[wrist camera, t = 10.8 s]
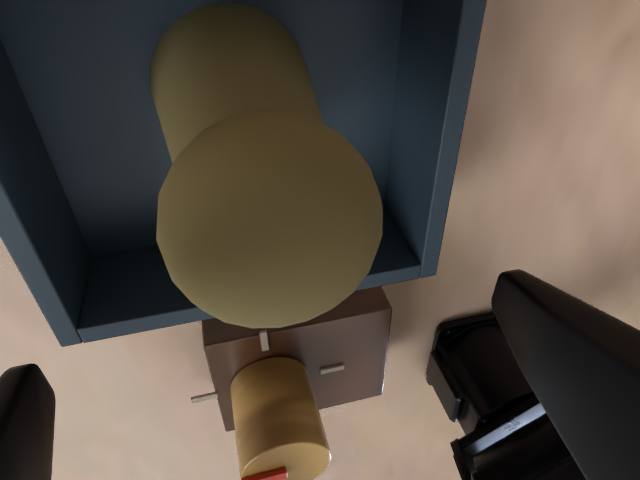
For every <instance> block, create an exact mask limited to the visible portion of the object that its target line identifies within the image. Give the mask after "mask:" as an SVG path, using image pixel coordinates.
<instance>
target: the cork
mask: <svg viewBox="0 0 640 480" xmlns="http://www.w3.org/2000/svg"><path fill="white" fill-rule="evenodd" d="M150 90H151V93H152V97H153V100H154V103H155V107H156V110H157V113H158V117H159V120H160V123H161V127H162V130H163V133H164V137H165V140H166V143H167V147H168V150H169V154H170V157H171V160H172V166H171V168H170V170H169V172H168V174H167V177H166V179H165V181H164V183H163V185H162V188H161V190H160V192H159V195H158V211H157V234H156V241H157V243H158V246H159V249H160V251H161V254H162V257H163V259H164V262H165V264H166V267H167V270H168V272H169V275H170V277H171V280H172V282H173V283H174V284H175V285H176V286H177V287H178V288H179V289H180V290H181V291H182V292H183V294H184V295H185V296H186V297H187V298H188V299H189V300H190V301H191V302H192V303H193V304H195V305H196V306H197V307H198V308H200V309H201V310H202V311H204V312H206V313H208V314H210V315H212V316H214V317H216V318H217V319H219V320H221V321H223V322H225V323H229V324H234V325H238V326H243V327H248V328H281V327H285V326H289V325H293V324H297V323H301V322H305V321H308V320H311V319H313V318H315V317H317V316H319V315H321V314H323V313H325V312H327V311H329V310H331V309H333V308H334V307H336V306H337V305H338V304H339V303H341V302H342V301H343V300H344V299H346V298H347V297H348V296H349V295H351V294H352V293H353V292H354V291H355V290H356V288H357V287H358V286H359V285H360V283H361V282H362V281H363V279H364V278H365V277H366V275H367V274H368V273H369V271H370V269H371V266H372V263H373V261H374V258H375V255H376V253H377V250H378V247H379V244H380V241H381V238H382V228H383V207H382V202H381V197H380V193H379V190H378V187H377V185H376V182H375V180H374V177H373V175H372V172H371V170H370V167H369V165H368V164H367V163H366V161H365V160H364V159H363V157H362V156H361V155H360V154H359V152H358V151H357V150H356V149H355V148H354V147H353V146H352V145H351V144H350V143H349V142H348V141H347V140H346V139H345V138H344V137H343V135H342V134H341V133H340V132H338V131H336V130H334V129H332V128H330V127H328V126H326V125H324V123H323V120H322V116H321V113H320V109H319V106H318V102H317V99H316V96H315V92H314V89H313V85H312V82H311V79H310V75H309V72H308V68H307V65H306V62H305V60H304V57H303V55H302V53H301V50H300V48H299V46H298V43H297V41H296V40H295V38H294V37H293V36H292V35H291V34H290V33H289V32H288V30H287V29H286V28H285V27H284V26H283V25H282V24H281V22H280V21H278V20H277V19H275V18H273V17H272V16H270V15H268V14H267V13H265V12H263V11H262V10H260V9H258V8H256V7H252V6H247V5H242V4H238V3H233V2H224V3H217V4H210V5H202V6H200V7H199V8H197V9H195V10H193V11H191V12H189V13H187V14H185V15H183V16H182V17H180V18H178V19H177V20H176V21H175V22H174V24H173V25H172V26H171V27H170V28H169V29H168V30H167V31H166V33H165V34H164V35H163V36H162V37H161V38H160V40H159V43H158V46H157V48H156V51H155V53H154V56H153V58H152V61H151V73H150Z"/></svg>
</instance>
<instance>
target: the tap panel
mask: <svg viewBox="0 0 640 480" xmlns="http://www.w3.org/2000/svg"><path fill="white" fill-rule="evenodd" d="M391 315H392V307H391V305H390V303H389V301H388V299H387V297H386V295H385V293H384V291H383V289H382V287H381V286H377V287H371V288H366V289H361V290H356V291H354V292H353V293H352V294H351V295H349V296H348V297H347V298H346V299H344V300H343V301H342V302H341V303H339V304H338V305H337V306H336V307H334V308H333V309H331V310H329V311H327V312H325V313H323V314H321V315H319V316H317V317H315V318H313V319H311V320H308V321H305V322H301V323H297V324H293V325H289V326H285V327H281V328H248V327H243V326H238V325H234V324H229V323H225V322H223V321H221V320H219V319H217V318H211V319H205V320H202V333H203V346H204V350H205V354H206V358H207V362H208V365H209V369H210V373H211V377H212V381H213V384H214V388H215V392H213V393H208V394H204V395H199V396H195V397H191V401H192V403H196V402H200V401H205V400H209V399H214V398H217V400H218V403H219V407H220V411H221V415H222V419H223V422H224V426H225V430H226V431H231V430H235V426H234V417H233V409H232V400H231V392H230V387H231V383H232V381H233V379H234V377H235V376H236V375H237V374H238V373H239V372H240V371H241V370H242V369H243V368H245V367H246V366H248V365H250V364H252V363H254V362H256V361H259V360H262V359H266V358H272V357H287V358H292V359H295V360H297V361H299V362H300V363H302V364H303V365H304V366H305V367H306V369H307V371H308V374H309V377H310V381H311V385H312V388H313V392H314V395H315V399H316V402H317V406H318V410H319V409H324V408H328V407H332V406H336V405H340V404H345V403H349V402H353V401H357V400H361V399H366V398H370V397H374V396H378V395H382V393H383V385H384V376H385V367H386V358H387V350H388V341H389V332H390V323H391Z"/></svg>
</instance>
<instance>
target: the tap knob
mask: <svg viewBox="0 0 640 480" xmlns="http://www.w3.org/2000/svg"><path fill="white" fill-rule="evenodd" d="M230 392H231V400H232V409H233V417H234V426H235V434H236V443H237V451H238V460H239V468H240V477H241V480H313V479H314V478H316V477H317V476H319V475H320V474H321V473H322V472H323V471H324V470H325V469H326V468H327V466H328V465H329V463H330V459H331V453H330V449H329V445H328V442H327V438H326V435H325V431H324V428H323V424H322V420H321V417H320V413H319V410H318V406H317V402H316V399H315V395H314V392H313V388H312V385H311V381H310V377H309V374H308V371H307V369H306V367H305V366H304V365H303V364H302V363H300V362H299V361H297V360H295V359H292V358H287V357H272V358H266V359H262V360H259V361H256V362H254V363H252V364H250V365H248V366H246V367H245V368H243V369H242V370H241V371H240V372H239V373H238V374H237V375H236V376H235V377H234V379H233V381H232V383H231V387H230Z"/></svg>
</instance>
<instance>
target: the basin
mask: <svg viewBox="0 0 640 480" xmlns="http://www.w3.org/2000/svg"><path fill="white" fill-rule="evenodd" d="M486 1H487V0H0V237H1V239H2V240H3V242H4V244H5V246H6V248H7V249H8V251H9V253H10V255H11V257H12V258H13V260H14V262H15V264H16V266H17V267H18V269H19V271H20V273H21V275H22V276H23V278H24V280H25V282H26V284H27V285H28V287H29V289H30V291H31V293H32V294H33V296H34V298H35V300H36V302H37V303H38V305H39V307H40V309H41V311H42V313H43V314H44V316H45V318H46V320H47V322H48V323H49V325H50V327H51V329H52V331H53V332H54V334H55V336H56V338H57V340H58V341H59V343H60V345H61V346H62V347H64V346H69V345H74V344H80V343H82V342H84V343H86V342H91V341H97V340H102V339H107V338H112V337H117V336H122V335H128V334H133V333H138V332H143V331H148V330H154V329H159V328H164V327H169V326H174V325H180V324H185V323H190V322H195V321H200V320H205V319H211V318H216V317H214V316H212V315H210V314H208V313H206V312H204V311H202V310H201V309H200V308H198V307H197V306H196V305H195V304H193V303H192V302H191V301H190V300H189V299H188V298H187V297H186V296H185V295H184V294H183V292H182V291H181V290H180V289H179V288H178V287H177V286H176V285H175V284H174V283H173V282H172V280H171V277H170V275H169V272H168V270H167V267H166V264H165V262H164V259H163V257H162V254H161V251H160V249H159V246H158V243H157V241H156V234H157V211H158V195H159V192H160V190H161V188H162V185H163V183H164V181H165V179H166V177H167V174H168V172H169V170H170V168H171V166H172V160H171V157H170V154H169V150H168V147H167V143H166V140H165V137H164V133H163V130H162V127H161V123H160V120H159V117H158V113H157V110H156V107H155V103H154V100H153V97H152V93H151V90H150V73H151V61H152V58H153V56H154V53H155V51H156V48H157V46H158V43H159V40H160V38H161V37H162V36H163V35H164V34H165V33H166V31H167V30H168V29H169V28H170V27H171V26H172V25H173V24H174V22H175V21H176V20H177V19H178V18H180V17H182V16H183V15H185V14H187V13H189V12H191V11H193V10H195V9H197V8H199V7H200V6H202V5H210V4H217V3H224V2H233V3H238V4H242V5H247V6H252V7H256V8H258V9H260V10H262V11H263V12H265V13H267V14H268V15H270V16H272V17H273V18H275V19H277V20H278V21H280V22H281V24H282V25H283V26H284V27H285V28H286V29H287V30H288V32H289V33H290V34H291V35H292V36H293V37H294V38H295V40H296V41H297V43H298V46H299V48H300V50H301V53H302V55H303V57H304V60H305V62H306V65H307V68H308V72H309V75H310V79H311V82H312V85H313V89H314V92H315V96H316V99H317V102H318V106H319V109H320V113H321V116H322V120H323V123H324V125H326V126H328V127H330V128H332V129H334V130H336V131H338V132H340V133H341V134H342V135H343V137H344V138H345V139H346V140H347V141H348V142H349V143H350V144H351V145H352V146H353V147H354V148H355V149H356V150H357V151H358V152H359V154H360V155H361V156H362V157H363V159H364V160H365V161H366V163H367V164H368V165H369V167H370V170H371V172H372V175H373V177H374V180H375V182H376V185H377V187H378V190H379V193H380V197H381V202H382V207H383V228H382V238H381V241H380V244H379V247H378V250H377V253H376V255H375V258H374V261H373V263H372V266H371V269H370V271H369V273H368V274H367V275H366V277H365V278H364V279H363V281H362V282H361V283H360V285H359V286H358V287H357V288H356V290H361V289H366V288H371V287H377V286H382V285H387V284H392V283H397V282H403V281H408V280H413V279H418V278H419V277H420V278H423V277H428V276H433V275H436V271H437V265H438V260H439V255H440V249H441V244H442V238H443V233H444V228H445V222H446V217H447V211H448V206H449V201H450V195H451V190H452V184H453V179H454V174H455V168H456V163H457V157H458V152H459V147H460V141H461V136H462V130H463V125H464V120H465V114H466V109H467V103H468V98H469V93H470V87H471V82H472V76H473V71H474V66H475V60H476V55H477V49H478V44H479V39H480V33H481V28H482V22H483V17H484V12H485V6H486ZM356 290H355V291H356Z"/></svg>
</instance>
